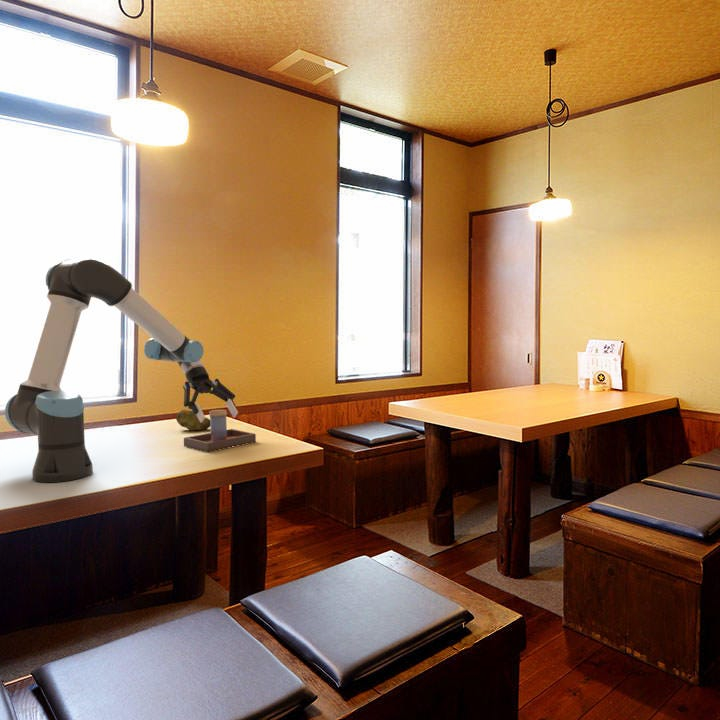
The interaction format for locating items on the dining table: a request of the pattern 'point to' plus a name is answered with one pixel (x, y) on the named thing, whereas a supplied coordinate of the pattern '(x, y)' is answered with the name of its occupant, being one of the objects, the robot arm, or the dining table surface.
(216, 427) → the shaker
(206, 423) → the potato
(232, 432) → the tray
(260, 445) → the dining table surface
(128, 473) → the dining table surface
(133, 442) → the dining table surface
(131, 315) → the robot arm
